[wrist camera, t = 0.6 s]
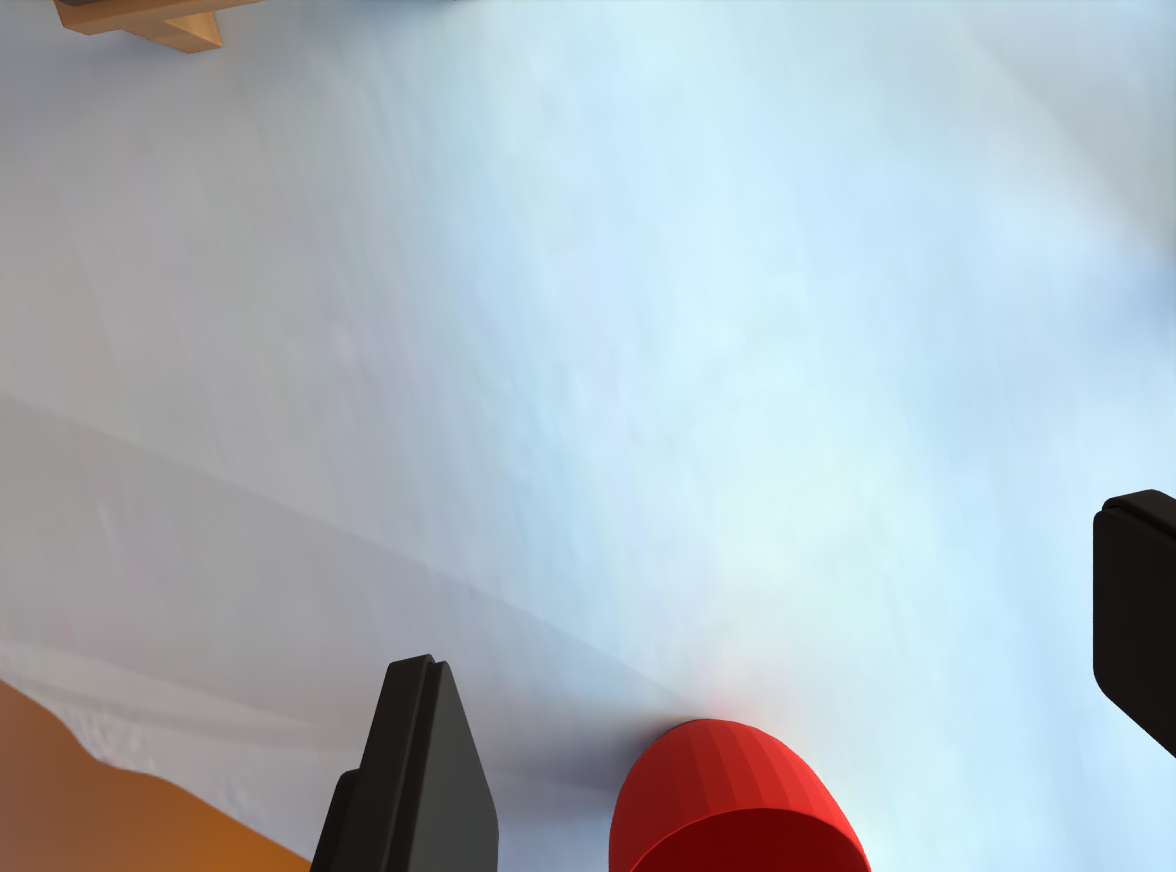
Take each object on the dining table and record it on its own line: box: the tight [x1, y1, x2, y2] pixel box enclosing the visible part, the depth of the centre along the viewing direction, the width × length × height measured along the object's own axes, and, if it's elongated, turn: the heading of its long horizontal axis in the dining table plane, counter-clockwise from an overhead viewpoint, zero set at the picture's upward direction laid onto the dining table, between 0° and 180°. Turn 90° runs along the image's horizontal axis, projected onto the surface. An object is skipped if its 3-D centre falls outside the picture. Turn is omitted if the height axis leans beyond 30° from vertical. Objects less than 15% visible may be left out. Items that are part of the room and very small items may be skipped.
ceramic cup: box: [609, 719, 871, 872], centre depth 43 cm, size 13×17×10 cm
